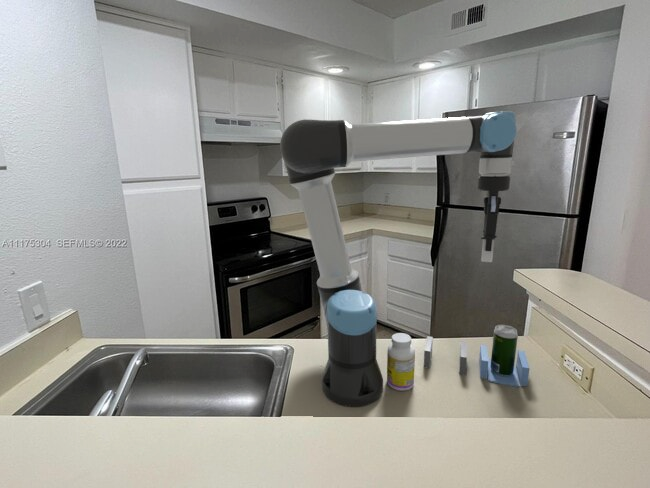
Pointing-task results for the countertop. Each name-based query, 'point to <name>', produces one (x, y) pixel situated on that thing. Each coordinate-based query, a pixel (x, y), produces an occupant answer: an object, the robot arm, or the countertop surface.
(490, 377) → the blue bezel pad
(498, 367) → the beer can
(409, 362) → the supplement bottle
